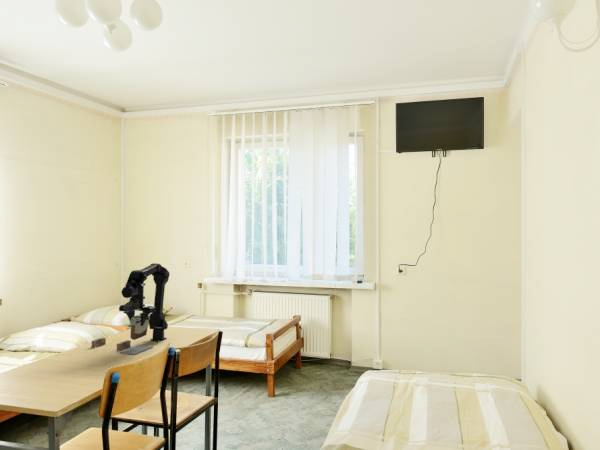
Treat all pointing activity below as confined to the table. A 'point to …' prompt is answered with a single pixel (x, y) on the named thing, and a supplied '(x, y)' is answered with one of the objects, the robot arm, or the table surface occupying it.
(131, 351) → the mat
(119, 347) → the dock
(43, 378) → the table surface
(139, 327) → the food container
